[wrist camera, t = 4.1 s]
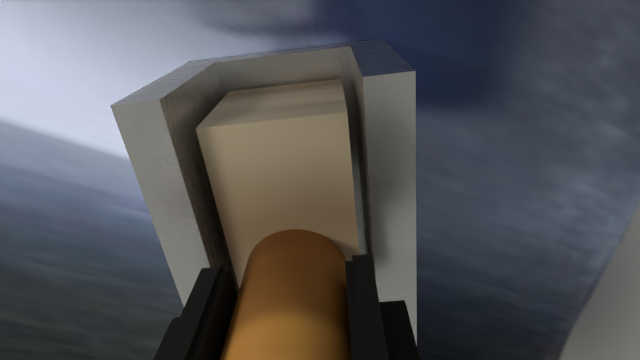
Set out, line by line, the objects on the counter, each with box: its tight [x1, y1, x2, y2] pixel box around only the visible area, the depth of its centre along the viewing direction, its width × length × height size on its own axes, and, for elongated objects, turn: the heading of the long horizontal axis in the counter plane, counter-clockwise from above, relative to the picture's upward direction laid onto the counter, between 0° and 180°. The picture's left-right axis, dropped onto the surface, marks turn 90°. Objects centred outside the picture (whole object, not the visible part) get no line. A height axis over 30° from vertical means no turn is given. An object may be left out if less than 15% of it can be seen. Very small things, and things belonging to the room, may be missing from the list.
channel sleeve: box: [110, 39, 417, 346], centre depth 16 cm, size 18×7×6 cm, turn 7°
